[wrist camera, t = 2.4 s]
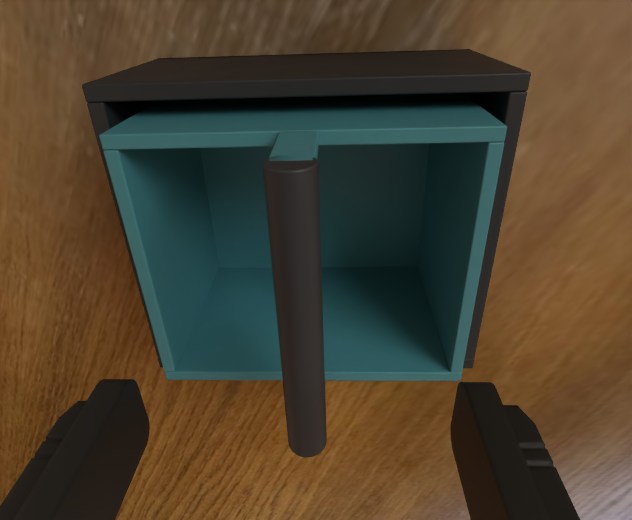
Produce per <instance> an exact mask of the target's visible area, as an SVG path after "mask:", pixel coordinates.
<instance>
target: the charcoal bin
mask: <svg viewBox="0 0 632 520" xmlns="http://www.w3.org/2000/svg"><path fill="white" fill-rule="evenodd" d="M530 76H531V73H530V72H528V71H525V70H522V69H520V68H517V67H515V66H512V65H509V64H507V63H504V62H501V61H499V60H496V59H493V58H491V57H488V56H485V55H483V54H480V53H478V52H475V51H472V50H470V49H463V50H429V51H395V52H362V53H328V54H294V55H261V56H227V57H194V58H160V59H156V60H153V61H150V62H147V63H144V64H141V65H138V66H135V67H132V68H129V69H126V70H123V71H120V72H118V73H115V74H112V75H109V76H106V77H103V78H100V79H97V80H94V81H91V82H88V83H85V84H83V85H82V88H83V91H84V95H85V99H86V101H87V102H89V103H87V106H88V109H89V113H90V116H91V120H92V124H93V127H94V131H95V134H96V138H97V141H98V145H99V149H100V152H101V156H102V159H103V163H104V166H105V170H106V174H107V177H108V181H109V184H110V188H111V191H112V195H113V199H114V202H115V206H116V209H117V213H118V216H119V220H120V224H121V227H122V231H123V234H124V238H125V241H126V245H127V249H128V252H129V256H130V259H131V263H132V266H133V270H134V274H135V277H136V281H137V284H138V288H139V291H140V295H141V299H142V302H143V306H144V309H145V313H146V316H147V320H148V324H149V327H150V331H151V334H152V338H153V341H154V345H155V349H156V352H157V356H158V360H159V364H160V367H163V365H162V361H161V358H160V354H159V351H158V347H157V343H156V340H155V336H154V333H153V329H152V325H151V322H150V318H149V314H148V311H147V307H146V304H145V300H144V296H143V293H142V289H141V285H140V282H139V278H138V275H137V271H136V267H135V264H134V260H133V257H132V253H131V249H130V246H129V242H128V238H127V235H126V231H125V228H124V224H123V220H122V217H121V213H120V209H119V206H118V202H117V199H116V195H115V191H114V188H113V184H112V181H111V177H110V173H109V170H108V166H107V162H106V159H105V155H104V150H103V148H102V144H101V141H100V137H99V135H100V134H102V133H104V132H105V131H107V130H109V129H111V128H112V127H114V126H116V125H117V124H119V123H121V122H123V121H124V120H126V119H128V118H130V117H131V116H133V115H135V114H136V113H138V112H140V111H142V110H143V109H145V108H147V107H148V106H150V105H152V104H154V103H155V102H157V101H164V100H203V99H243V98H282V97H322V96H361V95H401V94H440V93H463V94H464V95H466V96H467V97H468V98H470V99H471V100H472V101H474V102H475V103H476V104H478V105H479V106H480V107H482V108H483V109H484V110H486V111H487V112H489V113H490V114H491V115H493V116H494V117H495V118H497V119H498V120H499V121H501V122H502V123H503V124H505V125H506V126H507V131H506V136H505V141H504V147H503V153H502V158H501V164H500V169H499V175H498V180H497V185H496V191H495V196H494V202H493V207H492V212H491V218H490V223H489V229H488V234H487V240H486V245H485V250H484V256H483V261H482V267H481V272H480V277H479V283H478V288H477V294H476V299H475V305H474V310H473V315H472V321H471V326H470V332H469V337H468V342H467V348H466V353H465V359H464V364H463V368H473V363H474V357H475V352H476V347H477V342H478V337H479V332H480V327H481V322H482V317H483V312H484V307H485V302H486V297H487V292H488V287H489V282H490V277H491V272H492V267H493V262H494V257H495V252H496V247H497V241H498V236H499V231H500V226H501V221H502V216H503V211H504V206H505V201H506V196H507V191H508V186H509V181H510V176H511V171H512V166H513V161H514V156H515V151H516V146H517V141H518V136H519V131H520V126H521V121H522V116H523V111H524V106H525V101H526V96H527V92H526V91H527V90H528V86H529V81H530Z"/></svg>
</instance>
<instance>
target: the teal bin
mask: <svg viewBox="0 0 632 520" xmlns="http://www.w3.org/2000/svg"><path fill="white" fill-rule="evenodd" d="M506 131H507V126H506V125H505V124H503V123H502V122H501V121H499V120H498V119H497V118H495V117H494V116H493V115H491V114H490V113H489V112H487V111H486V110H484V109H483V108H482V107H480V106H479V105H478V104H476V103H475V102H474V101H472V100H471V99H470V98H468V97H467V96H466V95H464V94H463V93H440V94H401V95H361V96H322V97H282V98H243V99H203V100H164V101H157V102H155V103H154V104H152V105H150V106H148V107H147V108H145V109H143V110H142V111H140V112H138V113H136V114H135V115H133V116H131V117H130V118H128V119H126V120H124V121H123V122H121V123H119V124H117V125H116V126H114V127H112V128H111V129H109V130H107V131H105V132H104V133H102V134H100V135H99V137H100V141H101V144H102V148H103V150H104V155H105V159H106V162H107V166H108V170H109V173H110V177H111V181H112V184H113V188H114V191H115V195H116V199H117V202H118V206H119V209H120V213H121V217H122V220H123V224H124V228H125V231H126V235H127V238H128V242H129V246H130V249H131V253H132V257H133V260H134V264H135V267H136V271H137V275H138V278H139V282H140V285H141V289H142V293H143V296H144V300H145V304H146V307H147V311H148V314H149V318H150V322H151V325H152V329H153V333H154V336H155V340H156V343H157V347H158V351H159V354H160V358H161V361H162V365H163V369H164V371H165V376H166V379H167V380H283V389H284V400H285V410H286V421H287V431H288V442H289V446H290V448H291V450H292V451H293V452H294V453H295V454H297V455H298V456H301V457H313V456H315V455H317V454H319V453H320V452H321V451H322V450H323V449H324V447H325V445H326V404H325V380H337V381H460V380H461V375H462V370H463V364H464V359H465V353H466V348H467V342H468V337H469V332H470V326H471V321H472V315H473V310H474V305H475V299H476V294H477V288H478V283H479V277H480V272H481V267H482V261H483V256H484V250H485V245H486V240H487V234H488V229H489V223H490V218H491V212H492V207H493V202H494V196H495V191H496V185H497V180H498V175H499V169H500V164H501V158H502V153H503V147H504V141H505V136H506Z"/></svg>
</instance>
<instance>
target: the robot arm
mask: <svg viewBox="0 0 632 520" xmlns="http://www.w3.org/2000/svg"><path fill="white" fill-rule="evenodd" d="M148 437H149V419H148V416H147V413H146V410H145V407H144V404H143V401H142V397H141V394H140V391H139V388H138V385H137V383H136V381H135V380H133V379H103V380H101V381H100V382H99V383H98V384H97V385H96V387H95V388H94V390H93V392H92V393H91V395H90V396H89V398H88V400H87V401H78V402H77V403H75V404H74V405H73V406H72V407H71V408H70V409H69V410H67V411H66V412H65V413H64V414H63V415H62V416H60V417H59V418H58V420H57V421H56V423H55V425H54V426H53V428H52V429H51V431H50V432H49V434H48V435H47V437H46V441H45V442H43V443H42V444H41V446H40V447H39V449H38V450H37V452H36V453H35V457H34V458H32V459H31V461H30V462H29V464H28V465H27V467H26V468H25V470H24V471H23V473H22V474H21V476H20V477H19V479H18V480H17V482H16V483H15V485H14V486H13V488H12V489H11V491H10V492H9V494H8V495H7V497H6V498H5V500H4V501H3V503H2V504H1V506H0V520H115V518H116V516H117V513H118V511H119V508H120V506H121V504H122V501H123V499H124V497H125V494H126V492H127V490H128V487H129V485H130V483H131V480H132V478H133V476H134V473H135V471H136V468H137V466H138V464H139V461H140V459H141V457H142V454H143V452H144V450H145V447H146V445H147V441H148ZM451 442H452V449H453V453H454V457H455V461H456V464H457V468H458V472H459V476H460V480H461V484H462V487H463V491H464V495H465V499H466V503H467V507H468V510H469V514H470V518H471V520H580V519H579V516H578V514H577V512H576V510H575V508H574V506H573V504H572V502H571V499H570V497H569V495H568V493H567V491H566V489H565V487H564V485H563V482H562V480H561V478H560V476H559V474H558V472H557V470H556V468H555V467H554V466H553V461H552V459H551V457H550V455H549V453H548V451H547V449H545V444H544V442H543V440H542V438H541V436H540V434H539V432H538V429H537V427H536V425H535V423H534V422H533V421H532V420H531V419H530V418H529V417H528V416H527V415H526V414H525V413H524V412H523V411H522V410H521V409H520V408H519V407H518V406H517V405H503V404H502V402H501V399H500V397H499V395H498V392H497V390H496V388H495V386H494V384H493V383H491V382H460V383H459V384H458V388H457V393H456V399H455V405H454V410H453V416H452V421H451Z"/></svg>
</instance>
